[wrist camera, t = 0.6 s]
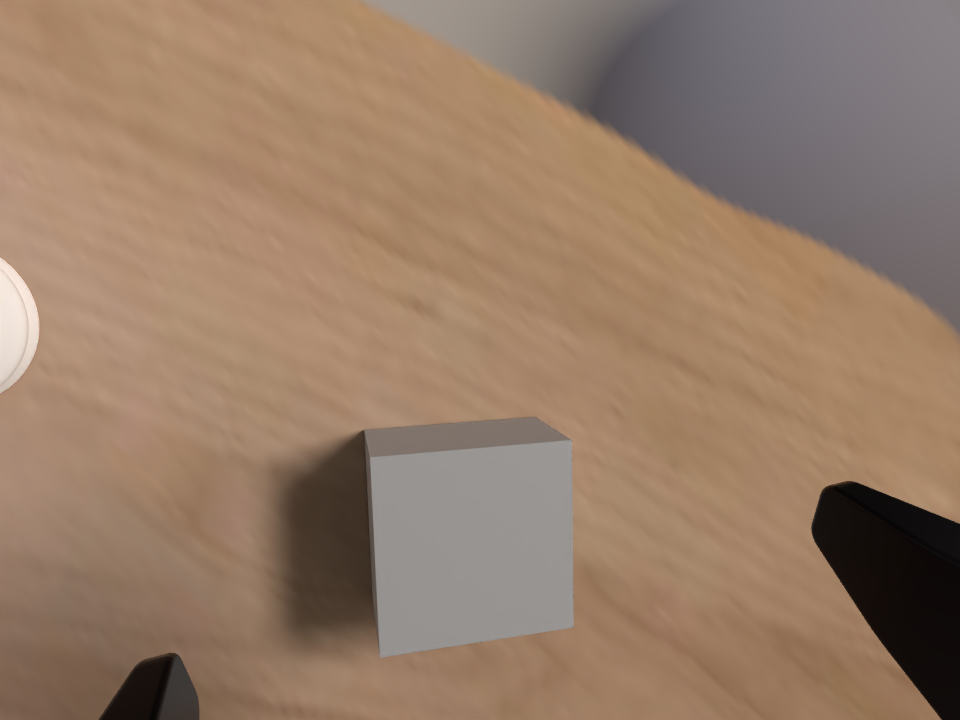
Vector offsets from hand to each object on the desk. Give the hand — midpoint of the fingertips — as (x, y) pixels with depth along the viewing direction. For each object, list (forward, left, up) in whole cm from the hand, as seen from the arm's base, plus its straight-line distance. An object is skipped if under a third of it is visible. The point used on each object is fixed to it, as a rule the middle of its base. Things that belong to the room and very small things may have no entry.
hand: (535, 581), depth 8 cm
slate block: (-3, -2, -13) cm, 14 cm away
